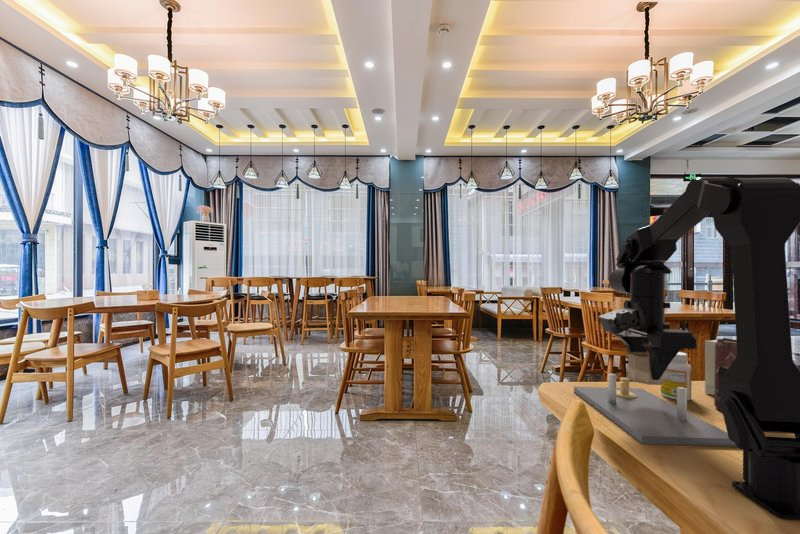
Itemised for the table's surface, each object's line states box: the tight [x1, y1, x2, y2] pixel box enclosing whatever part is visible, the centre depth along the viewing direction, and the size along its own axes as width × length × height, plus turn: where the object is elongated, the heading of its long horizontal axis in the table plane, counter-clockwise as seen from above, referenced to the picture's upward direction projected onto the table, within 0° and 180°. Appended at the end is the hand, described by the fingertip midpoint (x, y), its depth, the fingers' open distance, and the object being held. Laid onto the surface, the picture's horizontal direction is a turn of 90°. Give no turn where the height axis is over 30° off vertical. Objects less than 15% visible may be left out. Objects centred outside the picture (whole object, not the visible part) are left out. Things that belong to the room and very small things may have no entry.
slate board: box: [573, 373, 737, 448], centre depth 71 cm, size 25×15×7 cm, turn 178°
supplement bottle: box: [660, 351, 692, 402], centre depth 81 cm, size 5×5×10 cm
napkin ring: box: [627, 351, 664, 386], centre depth 73 cm, size 6×6×5 cm
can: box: [713, 338, 737, 412], centre depth 73 cm, size 6×6×14 cm
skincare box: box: [704, 339, 717, 396], centre depth 83 cm, size 6×4×12 cm
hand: (645, 375), depth 73 cm, fingers closed on napkin ring, 5 cm apart
